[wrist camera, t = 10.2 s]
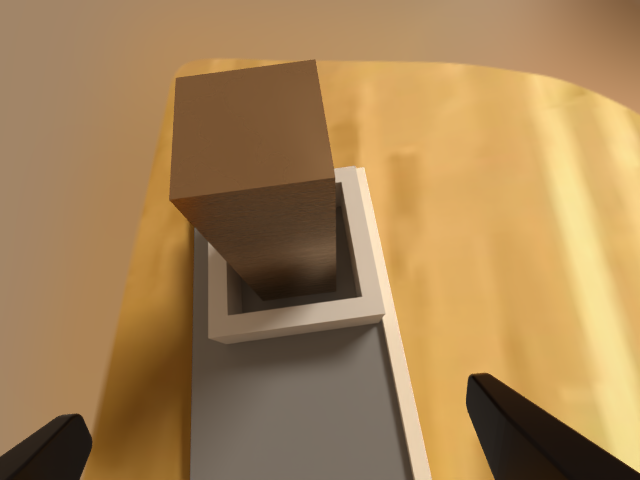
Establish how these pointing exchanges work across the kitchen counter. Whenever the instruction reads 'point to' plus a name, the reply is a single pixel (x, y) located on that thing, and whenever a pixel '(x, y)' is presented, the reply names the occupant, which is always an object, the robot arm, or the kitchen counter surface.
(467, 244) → the kitchen counter surface
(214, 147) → the bar
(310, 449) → the grey socket base
